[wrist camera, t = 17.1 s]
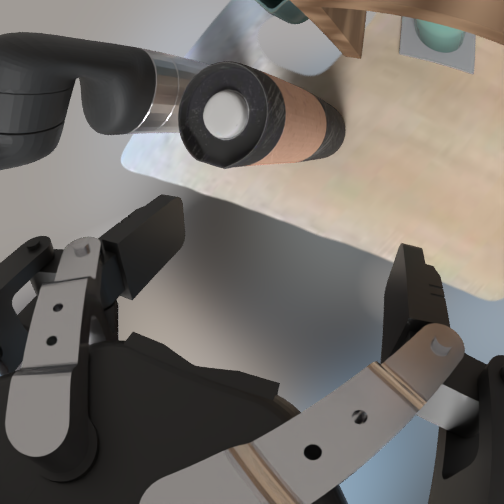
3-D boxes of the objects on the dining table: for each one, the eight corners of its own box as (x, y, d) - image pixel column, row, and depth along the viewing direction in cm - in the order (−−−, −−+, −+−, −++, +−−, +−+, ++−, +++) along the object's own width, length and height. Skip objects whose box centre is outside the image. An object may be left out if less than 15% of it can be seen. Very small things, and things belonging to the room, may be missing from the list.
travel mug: (327, 88, 33) (235, 38, 17) (359, 142, 33) (292, 130, 17) (278, 119, 38) (162, 104, 21) (306, 171, 38) (203, 190, 21)
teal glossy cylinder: (411, 44, 26) (404, 0, 17) (417, 4, 23) (408, -47, 14) (461, 59, 23) (473, 20, 14) (465, 18, 21) (473, -30, 12)
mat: (399, 54, 27) (399, 53, 27) (403, -7, 24) (403, -8, 23) (473, 74, 24) (473, 73, 23) (474, 11, 20) (475, 10, 20)
